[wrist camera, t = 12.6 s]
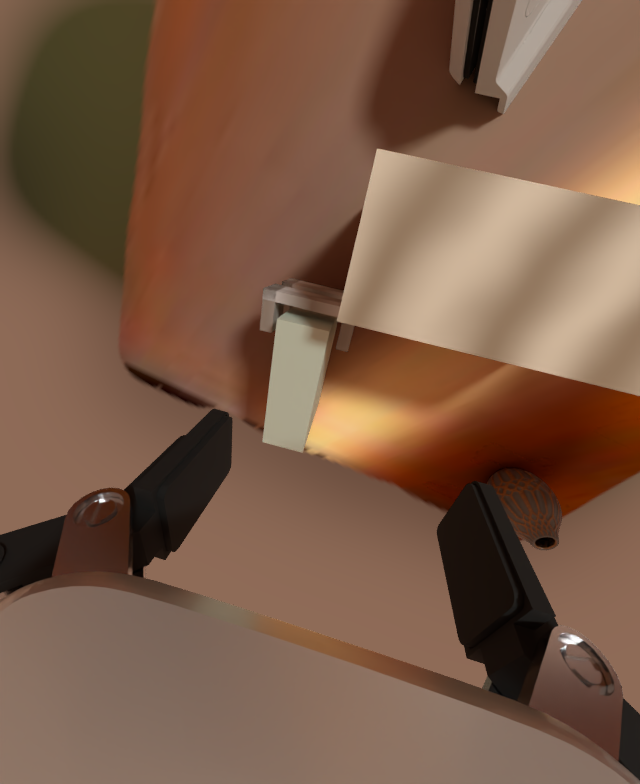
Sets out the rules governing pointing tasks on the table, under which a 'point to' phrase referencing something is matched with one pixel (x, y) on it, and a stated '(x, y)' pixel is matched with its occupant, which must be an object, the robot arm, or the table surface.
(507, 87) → the white electronic device
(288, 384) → the pale white box
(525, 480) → the vase
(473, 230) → the cabinet
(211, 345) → the table surface
